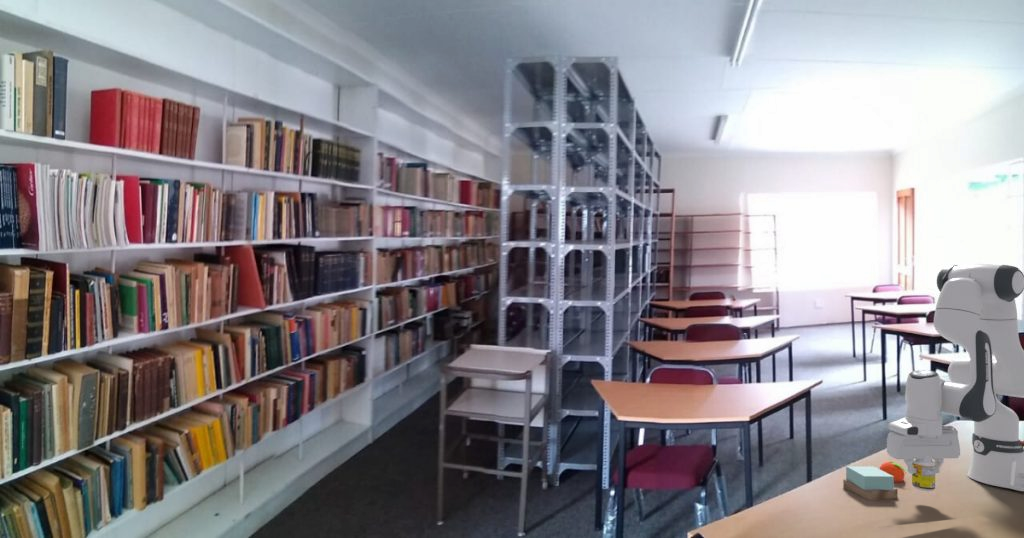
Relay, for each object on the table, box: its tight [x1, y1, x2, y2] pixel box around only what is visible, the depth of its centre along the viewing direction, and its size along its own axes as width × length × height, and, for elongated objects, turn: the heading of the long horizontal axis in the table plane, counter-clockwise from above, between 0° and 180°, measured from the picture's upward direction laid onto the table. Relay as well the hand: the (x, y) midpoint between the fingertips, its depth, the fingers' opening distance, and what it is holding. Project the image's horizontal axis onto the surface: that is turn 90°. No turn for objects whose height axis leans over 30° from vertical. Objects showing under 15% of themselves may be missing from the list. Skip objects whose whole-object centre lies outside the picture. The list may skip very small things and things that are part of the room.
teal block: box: [845, 465, 895, 490], centre depth 175 cm, size 9×9×4 cm
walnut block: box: [842, 478, 899, 501], centre depth 175 cm, size 10×10×4 cm
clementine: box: [878, 461, 907, 483], centre depth 186 cm, size 8×7×7 cm
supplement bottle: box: [911, 456, 936, 492], centre depth 168 cm, size 6×6×10 cm
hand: (923, 473), depth 168 cm, fingers closed on supplement bottle, 5 cm apart
